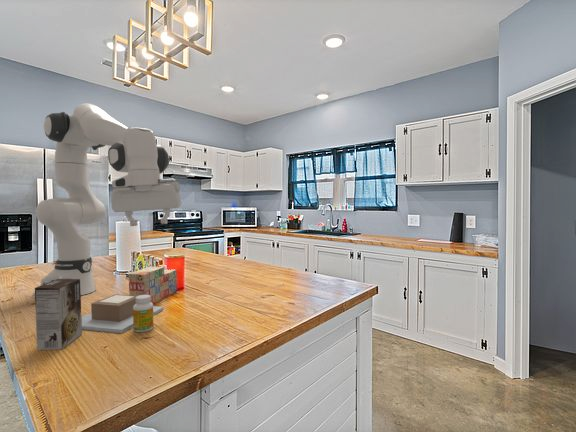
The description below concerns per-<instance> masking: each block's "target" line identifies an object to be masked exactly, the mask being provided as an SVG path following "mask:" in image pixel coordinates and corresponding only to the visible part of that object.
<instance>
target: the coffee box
mask: <svg viewBox="0 0 576 432" xmlns="http://www.w3.org/2000/svg"><path fill="white" fill-rule="evenodd" d="M34 292H35V295H34V301H35V302H34V303H35V304H34V305H35V307H34V308H35V330H36V331H35V333H36V335H35V336H36V350H37V351H43V350H44V351H47V350H51V351H54V350H55V351H56V350H63V349H64V348H65V347H67V346H69V345H70V344H71V343H72V342H74V341H75V340H76V339H77V338H79V337H80V336H82V335H83V329H82V319H81V317H82V298H81V296H82V295H81V292H80V279H56V280H54V281H51V282H49V283H46V284H43V285H41V286H40V285H38V286H37V287H34Z"/></svg>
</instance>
